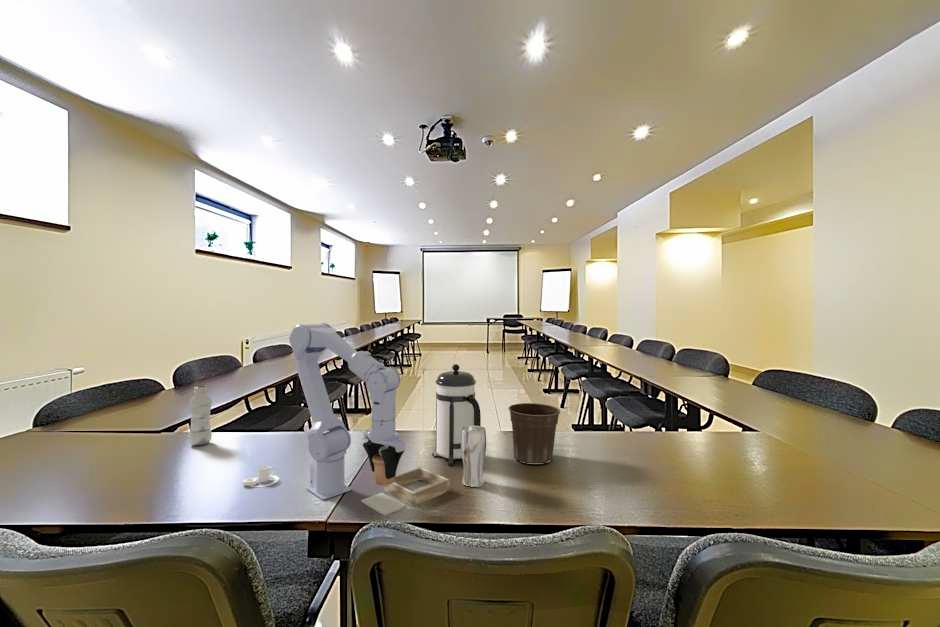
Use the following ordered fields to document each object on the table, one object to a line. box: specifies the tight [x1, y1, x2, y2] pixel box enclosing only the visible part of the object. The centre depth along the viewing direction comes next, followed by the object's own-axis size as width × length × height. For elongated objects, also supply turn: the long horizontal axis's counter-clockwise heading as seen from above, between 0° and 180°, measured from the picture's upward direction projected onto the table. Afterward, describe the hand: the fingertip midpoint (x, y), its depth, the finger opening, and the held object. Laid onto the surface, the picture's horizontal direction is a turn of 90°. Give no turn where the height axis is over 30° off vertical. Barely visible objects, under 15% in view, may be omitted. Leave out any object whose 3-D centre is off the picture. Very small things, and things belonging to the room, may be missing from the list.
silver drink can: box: [461, 425, 487, 487], centre depth 114 cm, size 7×7×15 cm
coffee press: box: [431, 363, 482, 466], centre depth 133 cm, size 17×16×30 cm
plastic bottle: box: [188, 385, 213, 446], centre depth 144 cm, size 6×7×20 cm
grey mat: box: [360, 492, 406, 517], centre depth 102 cm, size 10×6×1 cm, turn 46°
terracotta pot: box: [372, 446, 397, 486], centre depth 102 cm, size 6×6×8 cm
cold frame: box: [383, 466, 450, 507], centre depth 109 cm, size 12×12×3 cm
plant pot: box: [508, 402, 561, 464], centre depth 133 cm, size 16×16×16 cm
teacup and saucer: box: [242, 465, 280, 488], centre depth 115 cm, size 9×8×4 cm
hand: (383, 474), depth 102 cm, fingers closed on terracotta pot, 5 cm apart
